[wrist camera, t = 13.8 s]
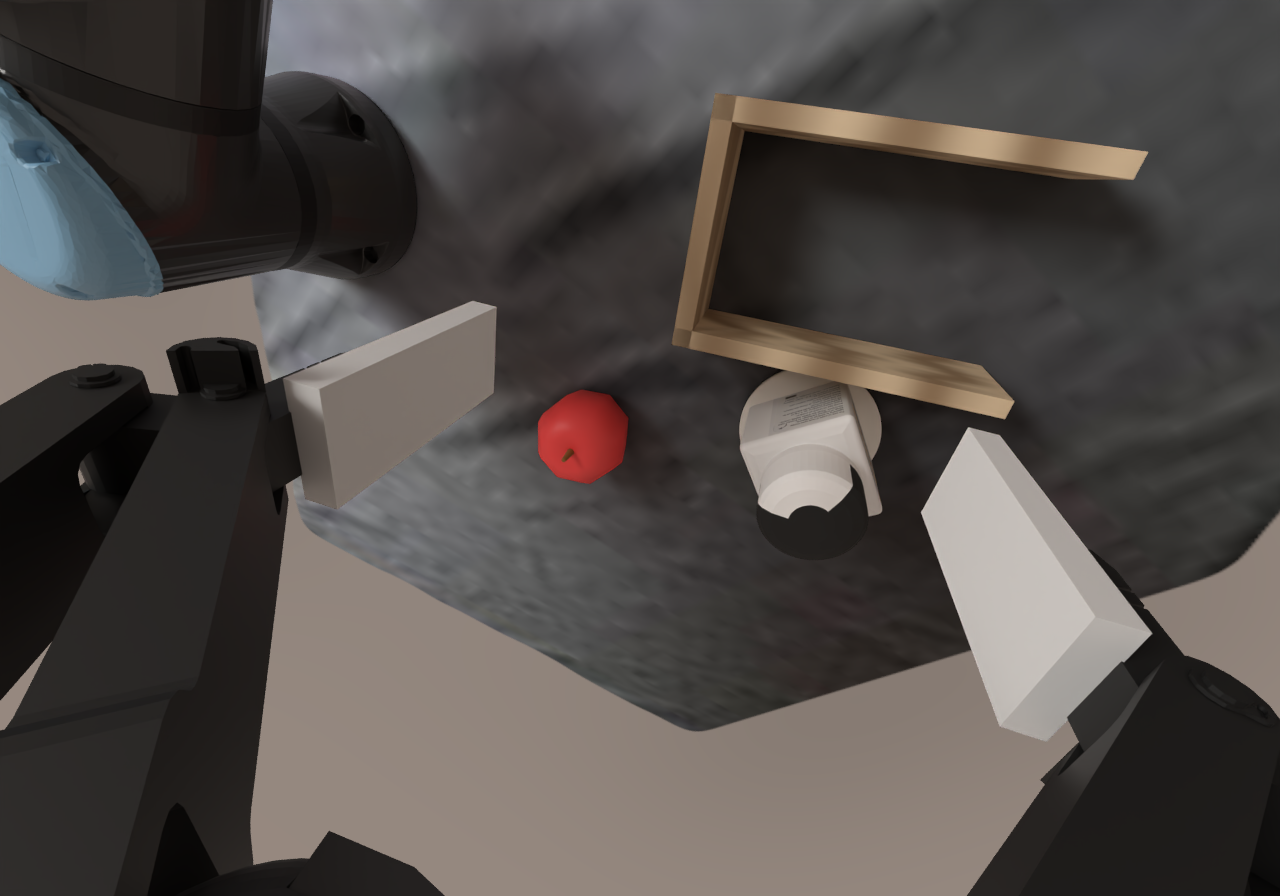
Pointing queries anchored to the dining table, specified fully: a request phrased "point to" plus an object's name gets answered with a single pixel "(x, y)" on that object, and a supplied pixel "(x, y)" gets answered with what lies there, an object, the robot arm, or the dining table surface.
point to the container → (811, 471)
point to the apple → (583, 436)
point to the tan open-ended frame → (832, 352)
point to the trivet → (797, 382)
